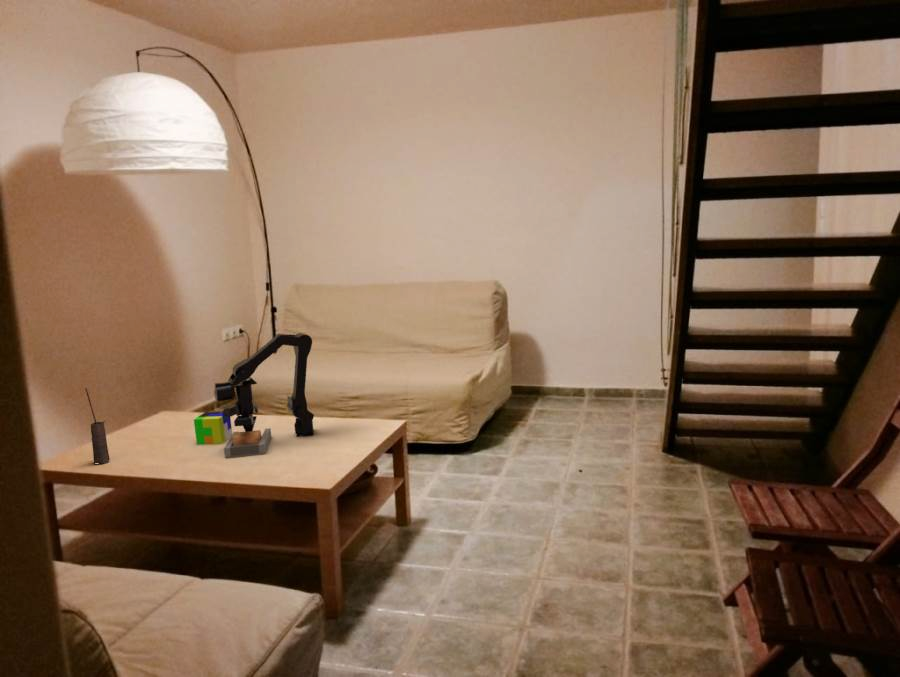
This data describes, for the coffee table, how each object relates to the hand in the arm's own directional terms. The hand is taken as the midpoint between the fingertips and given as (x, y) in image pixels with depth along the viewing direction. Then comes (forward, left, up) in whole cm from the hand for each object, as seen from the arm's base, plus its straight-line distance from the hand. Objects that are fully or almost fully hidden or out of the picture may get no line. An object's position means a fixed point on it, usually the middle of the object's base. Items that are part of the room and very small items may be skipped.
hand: (249, 437), depth 260 cm
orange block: (0, +5, -3) cm, 6 cm away
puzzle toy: (+15, -11, -3) cm, 19 cm away
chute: (0, +3, -3) cm, 4 cm away
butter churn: (+51, +3, -3) cm, 51 cm away
